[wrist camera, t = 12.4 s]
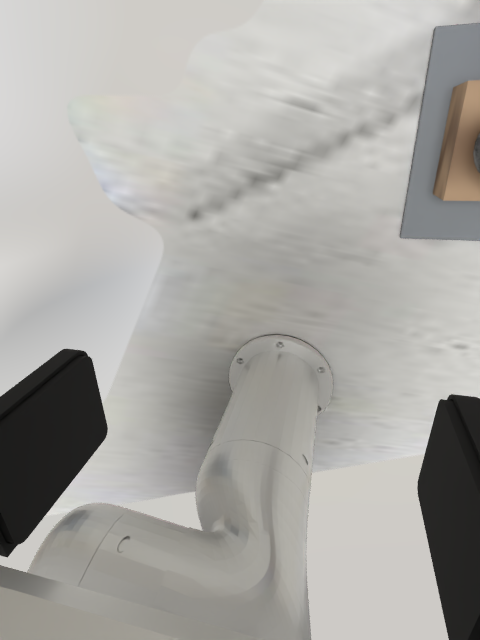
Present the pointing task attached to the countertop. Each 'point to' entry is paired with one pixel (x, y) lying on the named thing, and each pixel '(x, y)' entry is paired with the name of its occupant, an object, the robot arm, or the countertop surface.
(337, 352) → the countertop surface
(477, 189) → the base block
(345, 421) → the countertop surface
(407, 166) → the countertop surface
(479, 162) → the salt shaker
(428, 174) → the slate mat
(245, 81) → the countertop surface
